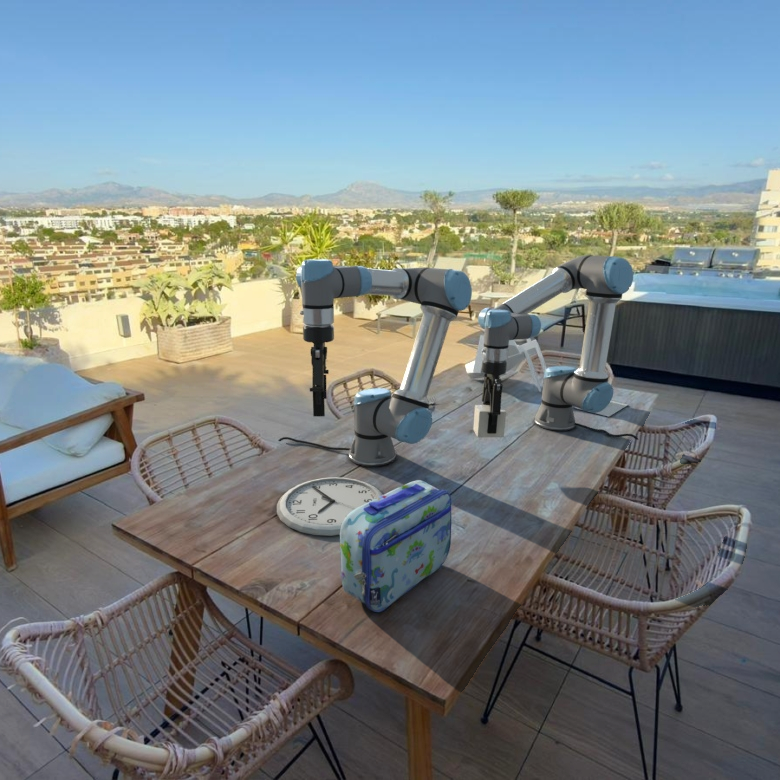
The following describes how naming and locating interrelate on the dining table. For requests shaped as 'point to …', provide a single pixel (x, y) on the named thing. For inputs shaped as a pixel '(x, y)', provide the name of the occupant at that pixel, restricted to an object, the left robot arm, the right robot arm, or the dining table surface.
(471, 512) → the dining table surface
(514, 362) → the white plastic object
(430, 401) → the fork
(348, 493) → the wall clock
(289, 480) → the dining table surface
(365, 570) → the lunch box
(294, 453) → the dining table surface
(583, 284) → the right robot arm
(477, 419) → the brick
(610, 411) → the invitation card
